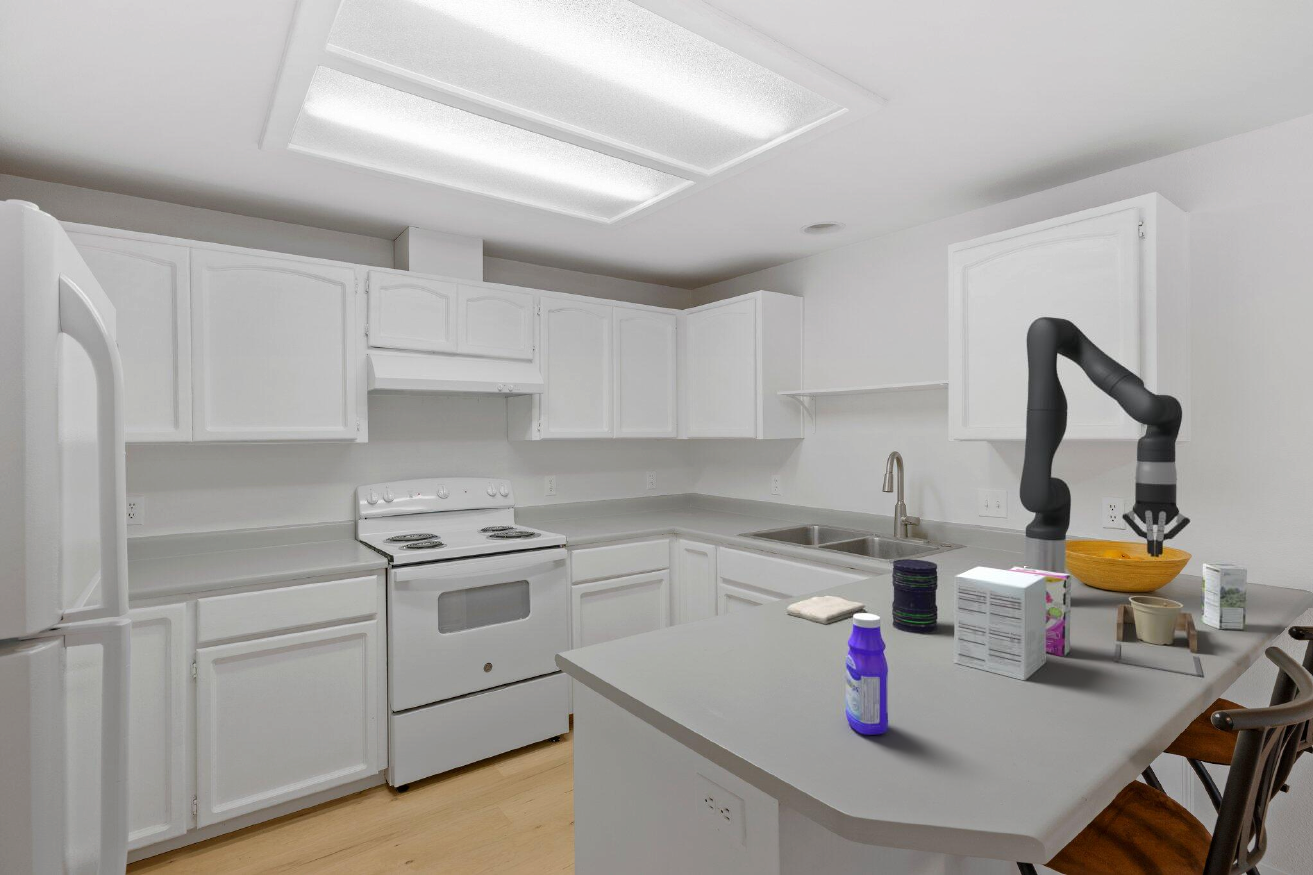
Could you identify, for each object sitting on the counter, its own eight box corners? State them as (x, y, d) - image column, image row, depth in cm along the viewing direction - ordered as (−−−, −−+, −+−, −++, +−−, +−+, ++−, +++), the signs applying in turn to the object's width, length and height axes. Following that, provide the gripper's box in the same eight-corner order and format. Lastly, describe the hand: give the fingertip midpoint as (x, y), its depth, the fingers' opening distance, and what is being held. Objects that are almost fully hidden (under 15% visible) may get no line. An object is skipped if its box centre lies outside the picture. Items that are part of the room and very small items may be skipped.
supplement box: (976, 647, 138) (977, 565, 138) (1046, 663, 129) (1047, 575, 128) (952, 663, 129) (952, 575, 129) (1025, 681, 119) (1026, 587, 119)
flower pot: (1171, 636, 145) (1172, 597, 145) (1190, 650, 136) (1191, 609, 136) (1122, 632, 148) (1122, 594, 148) (1137, 645, 139) (1137, 605, 139)
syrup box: (1226, 623, 154) (1227, 562, 154) (1246, 630, 149) (1247, 567, 148) (1200, 622, 155) (1201, 562, 155) (1219, 630, 149) (1220, 567, 149)
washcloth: (867, 613, 165) (867, 601, 165) (825, 627, 153) (825, 614, 153) (828, 603, 174) (828, 592, 174) (785, 616, 162) (785, 604, 162)
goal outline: (1114, 661, 129) (1114, 660, 129) (1115, 644, 140) (1115, 643, 140) (1203, 677, 121) (1203, 676, 121) (1198, 657, 131) (1198, 656, 131)
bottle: (840, 717, 105) (840, 610, 105) (874, 716, 105) (874, 609, 105) (857, 738, 98) (858, 623, 97) (894, 737, 98) (894, 622, 98)
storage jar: (891, 630, 149) (891, 566, 149) (892, 619, 158) (892, 558, 158) (938, 635, 146) (938, 569, 145) (937, 623, 155) (937, 561, 154)
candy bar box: (1005, 645, 139) (1005, 569, 139) (1011, 640, 143) (1012, 565, 142) (1065, 658, 131) (1066, 577, 131) (1071, 651, 135) (1071, 573, 135)
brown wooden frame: (1116, 640, 142) (1116, 622, 142) (1118, 620, 157) (1118, 603, 157) (1196, 653, 134) (1197, 634, 134) (1191, 630, 149) (1191, 613, 149)
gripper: (1119, 481, 150) (1119, 555, 151) (1194, 484, 142) (1193, 562, 143) (1120, 479, 156) (1120, 550, 157) (1191, 481, 148) (1191, 557, 149)
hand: (1154, 556), depth 150 cm, fingers closed
